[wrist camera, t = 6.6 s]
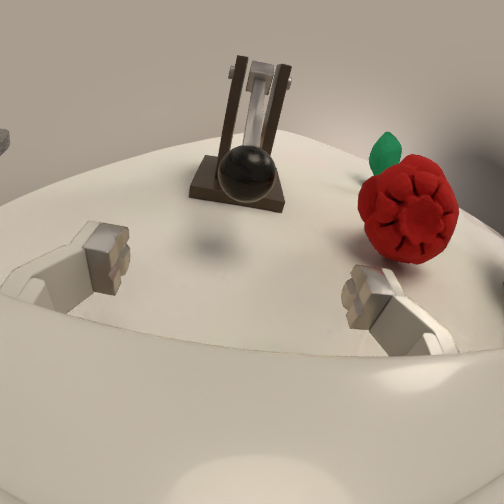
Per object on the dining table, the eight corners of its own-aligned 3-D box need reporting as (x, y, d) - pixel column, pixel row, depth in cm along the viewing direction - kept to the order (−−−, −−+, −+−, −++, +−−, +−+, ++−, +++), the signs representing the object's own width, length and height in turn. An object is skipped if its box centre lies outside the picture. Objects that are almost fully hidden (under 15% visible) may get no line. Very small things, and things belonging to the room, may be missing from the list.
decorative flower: (432, 207, 43) (452, 159, 38) (465, 316, 20) (523, 226, 15) (362, 175, 47) (380, 124, 41) (334, 254, 24) (377, 143, 18)
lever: (267, 218, 18) (282, 180, 15) (211, 209, 18) (216, 168, 15) (274, 89, 27) (282, 61, 24) (240, 83, 26) (246, 54, 23)
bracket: (282, 212, 28) (320, 71, 20) (188, 197, 27) (211, 50, 19) (274, 175, 36) (300, 71, 28) (203, 163, 35) (222, 56, 27)
